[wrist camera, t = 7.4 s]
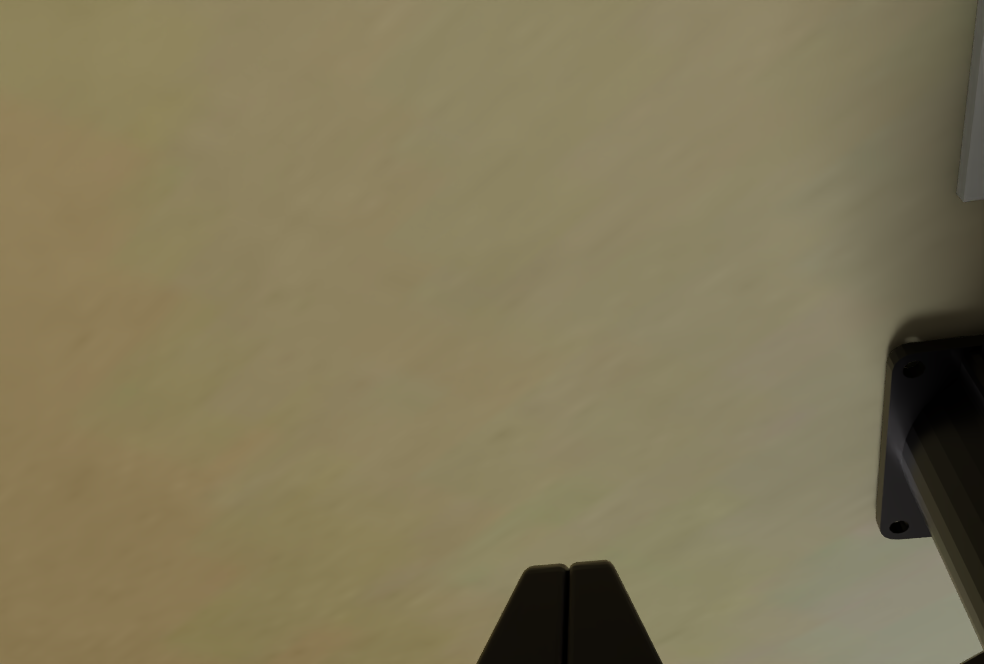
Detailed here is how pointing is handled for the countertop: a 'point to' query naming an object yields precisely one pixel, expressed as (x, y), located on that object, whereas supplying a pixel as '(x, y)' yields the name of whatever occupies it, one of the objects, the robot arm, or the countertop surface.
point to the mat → (974, 121)
